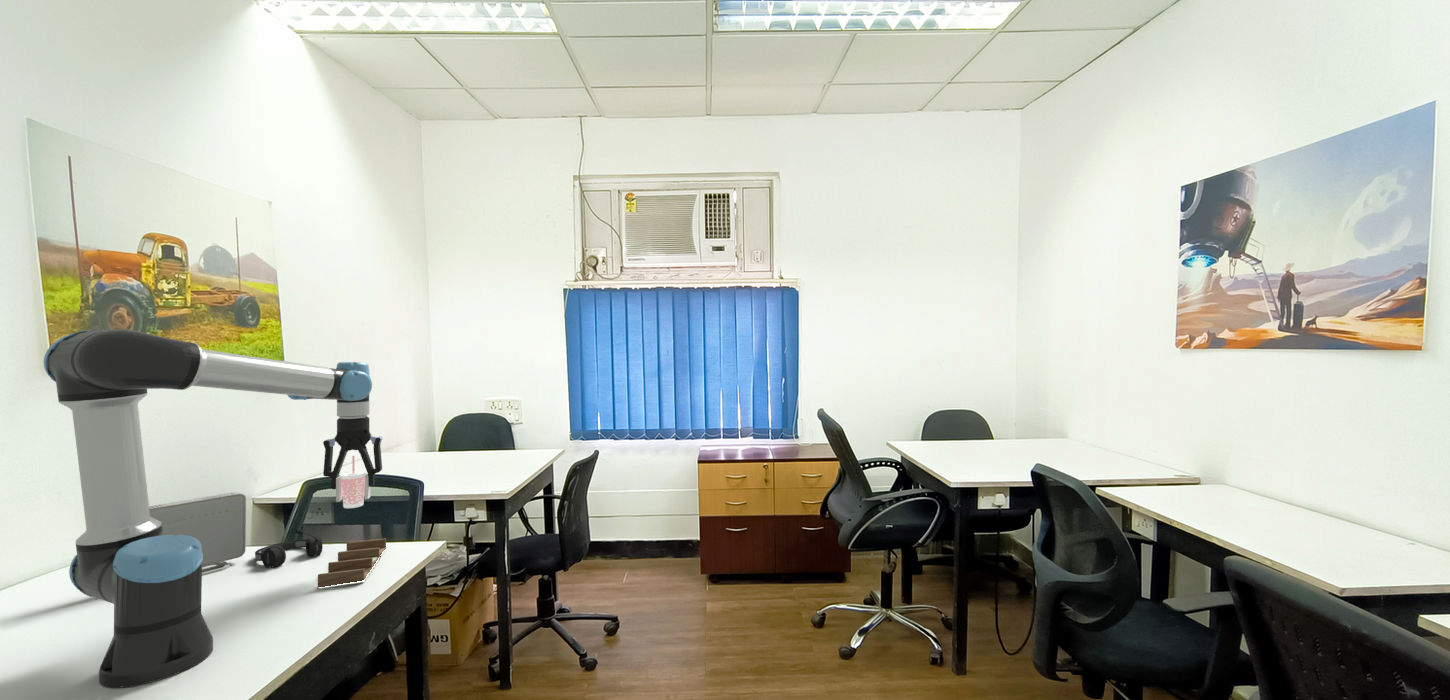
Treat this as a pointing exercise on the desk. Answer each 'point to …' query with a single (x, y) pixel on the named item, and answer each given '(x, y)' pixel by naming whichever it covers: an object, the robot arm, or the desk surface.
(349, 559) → the slot rack
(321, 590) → the desk surface
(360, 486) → the beverage cup
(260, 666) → the desk surface
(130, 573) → the robot arm
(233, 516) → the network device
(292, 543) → the headset
